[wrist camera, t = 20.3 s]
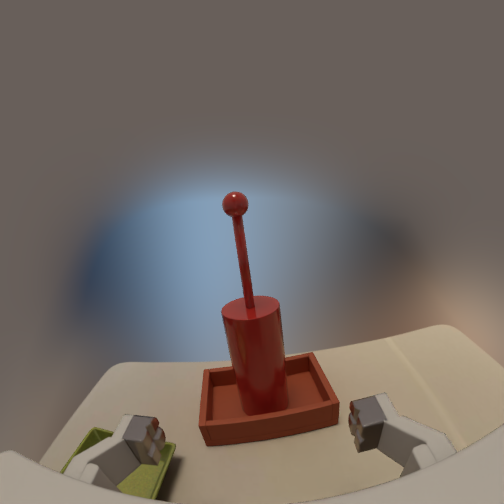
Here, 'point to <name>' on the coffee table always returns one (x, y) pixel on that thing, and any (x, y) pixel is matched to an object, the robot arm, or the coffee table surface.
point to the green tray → (143, 478)
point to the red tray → (271, 424)
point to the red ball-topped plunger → (254, 333)
